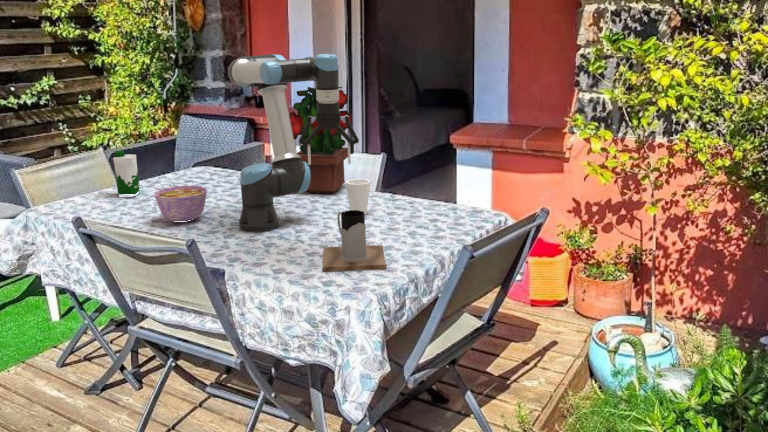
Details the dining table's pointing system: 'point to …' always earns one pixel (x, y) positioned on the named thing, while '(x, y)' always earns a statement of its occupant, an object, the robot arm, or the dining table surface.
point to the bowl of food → (181, 202)
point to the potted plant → (321, 144)
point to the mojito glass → (126, 173)
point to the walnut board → (336, 264)
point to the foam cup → (358, 194)
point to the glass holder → (353, 235)
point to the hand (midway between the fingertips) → (329, 163)
